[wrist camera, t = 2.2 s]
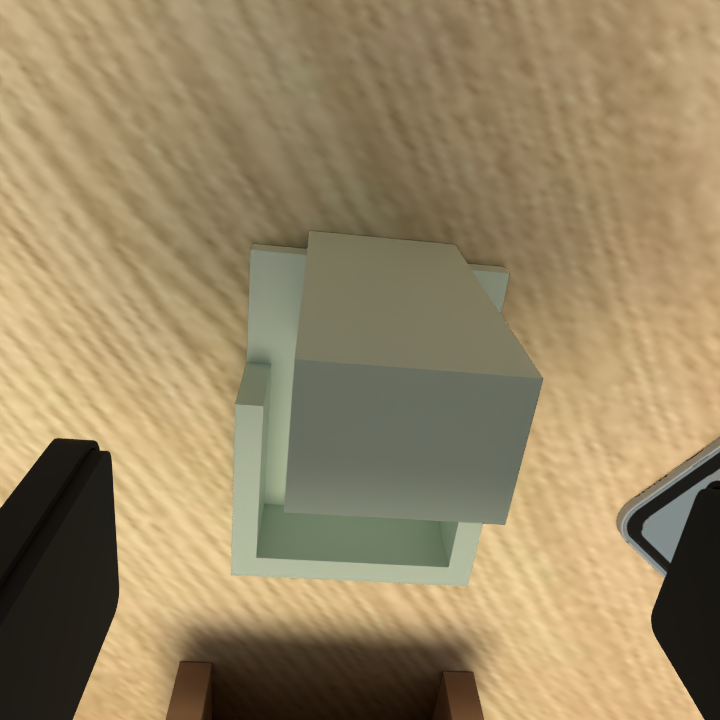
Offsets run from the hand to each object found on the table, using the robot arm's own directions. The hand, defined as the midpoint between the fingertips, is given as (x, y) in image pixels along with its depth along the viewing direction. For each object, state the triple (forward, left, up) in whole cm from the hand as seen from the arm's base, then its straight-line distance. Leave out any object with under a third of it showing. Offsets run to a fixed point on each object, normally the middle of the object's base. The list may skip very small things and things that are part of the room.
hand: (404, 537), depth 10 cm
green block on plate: (+3, 0, -9) cm, 9 cm away
